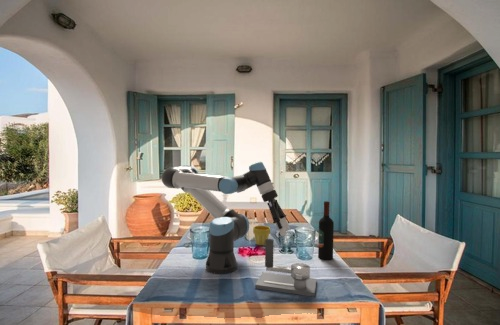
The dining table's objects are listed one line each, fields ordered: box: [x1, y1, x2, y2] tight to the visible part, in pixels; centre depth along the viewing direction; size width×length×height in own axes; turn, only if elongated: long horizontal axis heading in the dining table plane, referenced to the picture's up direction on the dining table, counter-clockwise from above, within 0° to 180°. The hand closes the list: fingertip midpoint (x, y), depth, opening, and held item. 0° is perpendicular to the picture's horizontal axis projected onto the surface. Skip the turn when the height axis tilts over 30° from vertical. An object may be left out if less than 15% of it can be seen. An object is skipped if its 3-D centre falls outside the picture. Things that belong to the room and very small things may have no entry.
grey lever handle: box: [264, 238, 311, 281], centre depth 122 cm, size 18×11×14 cm, turn 74°
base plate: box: [254, 271, 317, 297], centre depth 125 cm, size 24×13×6 cm, turn 74°
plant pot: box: [252, 225, 271, 246], centre depth 180 cm, size 10×10×10 cm
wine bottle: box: [317, 201, 335, 262], centre depth 156 cm, size 8×8×30 cm
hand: (286, 232), depth 142 cm, fingers open, 13 cm apart
